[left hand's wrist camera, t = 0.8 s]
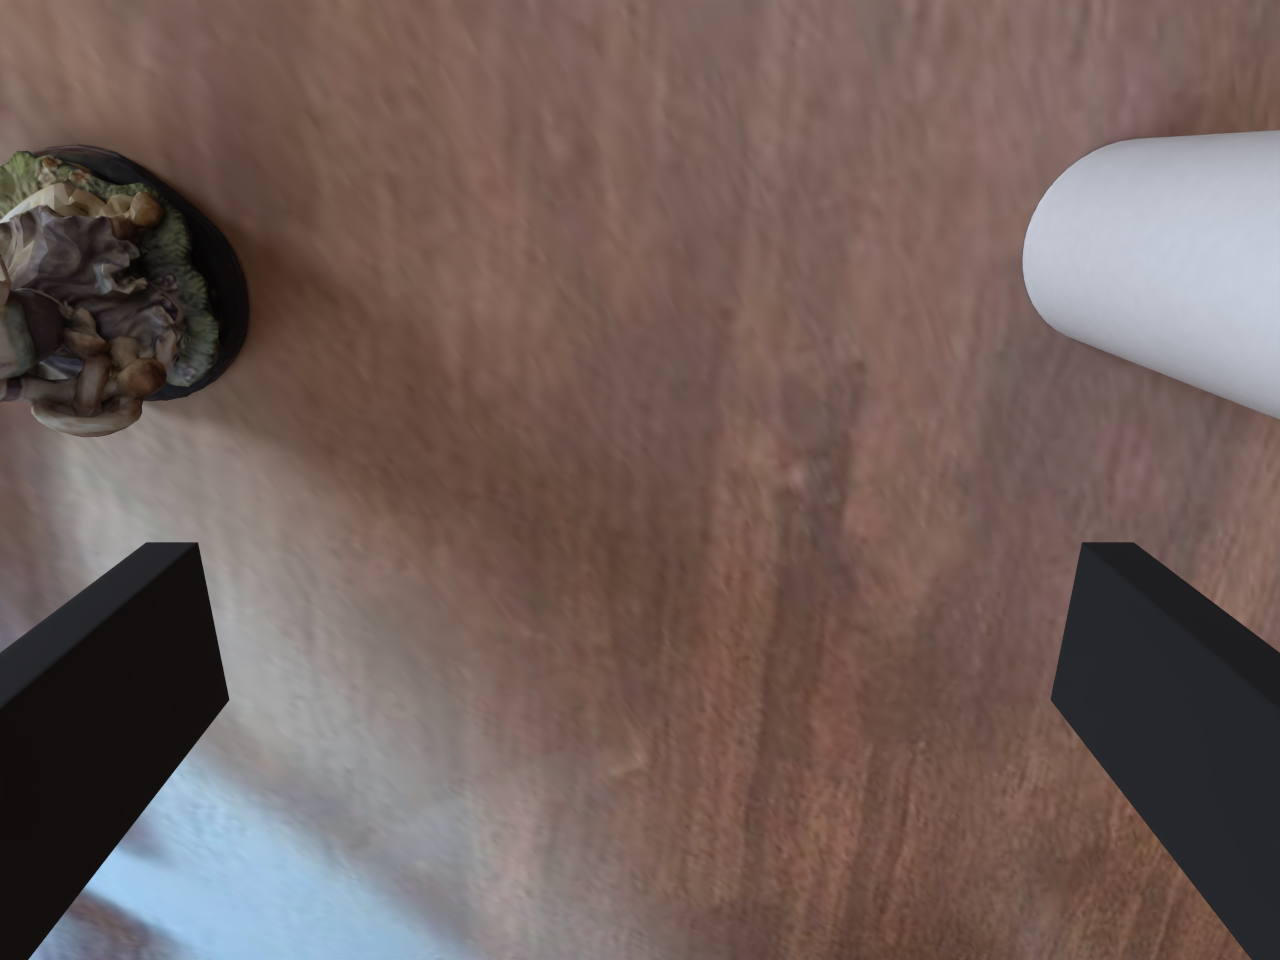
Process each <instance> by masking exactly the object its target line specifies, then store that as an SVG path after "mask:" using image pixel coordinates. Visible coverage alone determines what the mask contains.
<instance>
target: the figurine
mask: <svg viewBox="0 0 1280 960" xmlns="http://www.w3.org/2000/svg"><path fill="white" fill-rule="evenodd" d="M247 323H248V298H247V290H246V283H245V279H244V275H243V273H242V270H241V267H240V265H239V262H238V260H237V257H236V255H235V253H234V251H233V249H232V248H231V246H230V244H229V243H228V241H227V239H226V238H225V237H224V236H223V235H222V233H221V232H220V231H219V230H218V229H217V227H216V226H215V225H214V224H212V223H211V222H210V221H209V220H208V219H207V218H206V217H205V216H204V215H203V214H202V213H201V212H200V211H198V210H197V209H196V208H195V207H194V206H193V205H192V204H190V203H189V202H188V201H187V200H185V199H184V198H183V197H182V196H180V195H179V194H178V193H177V192H176V191H174V190H173V189H172V188H170V187H169V186H167V185H166V184H165V183H163V182H162V181H160V180H159V179H158V178H156V177H155V176H153V175H152V174H151V173H149V172H148V171H147V170H145V169H144V168H143V167H141V166H139V165H138V164H136V163H134V162H133V161H131V160H129V159H127V158H125V157H124V156H122V155H120V154H118V153H116V152H113V151H110V150H106V149H103V148H99V147H93V146H86V145H75V146H59V147H49V148H45V149H42V150H38V151H35V152H33V153H31V152H28V151H17V152H16V153H14V154H13V156H12V157H11V159H10V160H9V162H8V163H6V164H4V165H2V166H1V167H0V402H2V401H18V402H32V412H31V413H32V414H33V415H34V416H35V417H36V419H37V420H38V421H39V422H40V423H42V424H44V425H46V426H47V427H49V428H51V429H54V430H57V431H61V432H64V433H67V434H71V435H75V436H80V437H100V436H105V435H110V434H112V433H115V432H117V431H120V430H122V429H125V428H127V427H128V426H130V425H132V424H133V423H134V422H136V421H137V420H138V419H139V418H140V416H141V414H142V403H143V401H159V400H166V401H167V400H171V399H176V398H181V397H187V396H188V395H190V394H191V393H193V392H196V391H198V390H200V389H202V388H204V387H206V386H207V385H209V384H210V383H212V382H214V381H216V380H217V379H218V378H219V377H220V376H221V374H222V373H223V372H224V371H225V370H226V369H227V368H228V367H229V365H230V364H231V363H232V362H233V361H234V359H235V357H236V356H237V354H238V352H239V350H240V348H241V347H242V345H243V343H244V340H245V336H246V332H247Z"/></svg>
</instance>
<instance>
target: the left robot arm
mask: <svg viewBox="0 0 1280 960" xmlns="http://www.w3.org/2000/svg"><path fill="white" fill-rule="evenodd" d="M228 701H229V696H228V691H227V686H226V681H225V676H224V671H223V666H222V661H221V656H220V651H219V646H218V640H217V635H216V630H215V625H214V620H213V615H212V610H211V605H210V600H209V595H208V590H207V585H206V580H205V575H204V570H203V565H202V560H201V555H200V550H199V545H198V542H146V543H145V544H144V545H142V546H141V547H140V548H138V549H137V550H136V551H134V552H133V553H132V554H130V555H129V556H128V557H126V558H125V559H124V560H122V561H121V562H120V563H119V564H117V565H116V566H115V567H113V568H112V569H111V570H109V571H108V572H107V573H105V574H104V575H103V576H101V577H100V578H99V579H97V580H96V581H95V582H93V583H92V584H91V585H89V586H88V587H87V588H85V589H84V590H83V591H81V592H80V593H79V594H78V595H76V596H75V597H74V598H72V599H71V600H70V601H68V602H67V603H66V604H64V605H63V606H62V607H60V608H59V609H58V610H56V611H55V612H54V613H52V614H51V615H50V616H48V617H47V618H46V619H44V620H43V621H42V622H40V623H39V624H38V625H37V626H35V627H34V628H33V629H31V630H30V631H29V632H27V633H26V634H25V635H23V636H22V637H21V638H19V639H18V640H17V641H15V642H14V643H13V644H11V645H10V646H9V647H7V648H6V649H5V650H3V651H2V652H1V653H0V960H28V959H29V958H30V957H31V956H32V954H33V953H34V952H35V950H36V949H37V948H38V946H39V945H40V944H41V943H42V941H43V940H44V939H45V937H46V936H47V935H48V934H49V932H50V931H51V930H52V928H53V927H54V926H55V925H56V923H57V922H58V921H59V919H60V918H61V917H62V915H63V914H64V913H65V912H66V910H67V909H68V908H69V906H70V905H71V904H72V903H73V901H74V900H75V899H76V897H77V896H78V895H79V893H80V892H81V891H82V890H83V888H84V887H85V886H86V884H87V883H88V882H89V881H90V879H91V878H92V877H93V875H94V874H95V873H96V872H97V870H98V869H99V868H100V866H101V865H102V864H103V862H104V861H105V860H106V859H107V857H108V856H109V855H110V853H111V852H112V851H113V850H114V848H115V847H116V846H117V844H118V843H119V842H120V841H121V839H122V838H123V837H124V835H125V834H126V833H127V831H128V830H129V829H130V828H131V826H132V825H133V824H134V822H135V821H136V820H137V819H138V817H139V816H140V815H141V813H142V812H143V811H144V809H145V808H146V807H147V806H148V804H149V803H150V802H151V800H152V799H153V798H154V797H155V795H156V794H157V793H158V791H159V790H160V789H161V788H162V786H163V785H164V784H165V782H166V781H167V780H168V778H169V777H170V776H171V775H172V773H173V772H174V771H175V769H176V768H177V767H178V766H179V764H180V763H181V762H182V760H183V759H184V758H185V757H186V755H187V754H188V753H189V751H190V750H191V749H192V747H193V746H194V745H195V744H196V742H197V741H198V740H199V738H200V737H201V736H202V735H203V733H204V732H205V731H206V729H207V728H208V727H209V725H210V724H211V723H212V722H213V720H214V719H215V718H216V716H217V715H218V714H219V713H220V711H221V710H222V709H223V707H224V706H225V705H226V704H227V702H228ZM1051 701H1052V702H1053V704H1054V705H1055V706H1056V707H1057V709H1058V710H1059V711H1060V713H1061V714H1062V715H1063V716H1064V718H1065V719H1066V720H1067V722H1068V723H1069V724H1070V726H1071V727H1072V728H1073V729H1074V731H1075V732H1076V733H1077V735H1078V736H1079V737H1080V738H1081V740H1082V741H1083V742H1084V744H1085V745H1086V746H1087V747H1088V749H1089V750H1090V751H1091V753H1092V754H1093V755H1094V757H1095V758H1096V759H1097V760H1098V762H1099V763H1100V764H1101V766H1102V767H1103V768H1104V769H1105V771H1106V772H1107V773H1108V775H1109V776H1110V777H1111V778H1112V780H1113V781H1114V782H1115V784H1116V785H1117V786H1118V788H1119V789H1120V790H1121V791H1122V793H1123V794H1124V795H1125V797H1126V798H1127V799H1128V800H1129V802H1130V803H1131V804H1132V806H1133V807H1134V808H1135V809H1136V811H1137V812H1138V813H1139V815H1140V816H1141V817H1142V819H1143V820H1144V821H1145V822H1146V824H1147V825H1148V826H1149V828H1150V829H1151V830H1152V831H1153V833H1154V834H1155V835H1156V837H1157V838H1158V839H1159V841H1160V842H1161V843H1162V844H1163V846H1164V847H1165V848H1166V850H1167V851H1168V852H1169V853H1170V855H1171V856H1172V857H1173V859H1174V860H1175V861H1176V862H1177V864H1178V865H1179V866H1180V868H1181V869H1182V870H1183V872H1184V873H1185V874H1186V875H1187V877H1188V878H1189V879H1190V881H1191V882H1192V883H1193V884H1194V886H1195V887H1196V888H1197V890H1198V891H1199V892H1200V893H1201V895H1202V896H1203V897H1204V899H1205V900H1206V901H1207V903H1208V904H1209V905H1210V906H1211V908H1212V909H1213V910H1214V912H1215V913H1216V914H1217V915H1218V917H1219V918H1220V919H1221V921H1222V922H1223V923H1224V925H1225V926H1226V927H1227V928H1228V930H1229V931H1230V932H1231V934H1232V935H1233V936H1234V937H1235V939H1236V940H1237V941H1238V943H1239V944H1240V945H1241V946H1242V948H1243V949H1244V950H1245V952H1246V953H1247V954H1248V956H1249V957H1250V958H1251V959H1252V960H1280V653H1279V652H1278V651H1277V650H1275V649H1274V648H1273V647H1271V646H1270V645H1269V644H1267V643H1266V642H1265V641H1263V640H1262V639H1261V638H1259V637H1258V636H1257V635H1255V634H1254V633H1253V632H1251V631H1250V630H1249V629H1247V628H1246V627H1245V626H1243V625H1242V624H1241V623H1240V622H1238V621H1237V620H1236V619H1234V618H1233V617H1232V616H1230V615H1229V614H1228V613H1226V612H1225V611H1224V610H1222V609H1221V608H1220V607H1218V606H1217V605H1216V604H1214V603H1213V602H1212V601H1210V600H1209V599H1208V598H1206V597H1205V596H1204V595H1202V594H1201V593H1200V592H1199V591H1197V590H1196V589H1195V588H1193V587H1192V586H1191V585H1189V584H1188V583H1187V582H1185V581H1184V580H1183V579H1181V578H1180V577H1179V576H1177V575H1176V574H1175V573H1173V572H1172V571H1171V570H1169V569H1168V568H1167V567H1165V566H1164V565H1163V564H1161V563H1160V562H1159V561H1158V560H1156V559H1155V558H1154V557H1152V556H1151V555H1150V554H1148V553H1147V552H1146V551H1144V550H1143V549H1142V548H1140V547H1139V546H1138V545H1136V544H1135V543H1134V542H1082V545H1081V550H1080V555H1079V560H1078V565H1077V570H1076V575H1075V580H1074V585H1073V590H1072V595H1071V600H1070V605H1069V610H1068V615H1067V620H1066V625H1065V630H1064V635H1063V640H1062V645H1061V651H1060V656H1059V661H1058V666H1057V671H1056V676H1055V681H1054V686H1053V691H1052V696H1051Z"/></svg>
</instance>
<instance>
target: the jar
mask: <svg viewBox="0 0 1280 960" xmlns="http://www.w3.org/2000/svg"><path fill="white" fill-rule="evenodd" d="M1023 274H1024V281H1025V284H1026V288H1027V292H1028V294H1029V296H1030V299H1031V301H1032V303H1033V305H1034V306H1035V308H1036V310H1037V311H1038V313H1039V314H1040V315H1041V316H1042V318H1043V319H1044V320H1045V321H1046V322H1047V323H1048V324H1049V325H1051V326H1052V327H1053V328H1054V329H1055V330H1057V331H1059V332H1060V333H1062V334H1064V335H1065V336H1067V337H1070V338H1072V339H1075V340H1077V341H1080V342H1082V343H1085V344H1087V345H1090V346H1093V347H1095V348H1098V349H1100V350H1103V351H1105V352H1108V353H1110V354H1113V355H1116V356H1118V357H1121V358H1123V359H1126V360H1128V361H1131V362H1133V363H1136V364H1138V365H1141V366H1144V367H1146V368H1149V369H1151V370H1154V371H1156V372H1159V373H1161V374H1164V375H1167V376H1169V377H1172V378H1174V379H1177V380H1179V381H1182V382H1184V383H1187V384H1190V385H1192V386H1195V387H1197V388H1200V389H1202V390H1205V391H1207V392H1210V393H1212V394H1215V395H1218V396H1220V397H1223V398H1225V399H1228V400H1230V401H1233V402H1235V403H1238V404H1241V405H1243V406H1246V407H1248V408H1251V409H1253V410H1256V411H1258V412H1261V413H1264V414H1266V415H1269V416H1271V417H1274V418H1276V419H1279V420H1280V130H1274V131H1257V132H1241V133H1225V134H1208V135H1192V136H1176V137H1159V138H1143V139H1131V140H1125V141H1120V142H1116V143H1113V144H1110V145H1107V146H1104V147H1102V148H1100V149H1098V150H1095V151H1093V152H1091V153H1090V154H1088V155H1086V156H1085V157H1083V158H1081V159H1080V160H1078V161H1077V162H1076V163H1074V164H1073V165H1072V166H1071V167H1069V168H1068V169H1067V170H1066V171H1065V172H1064V173H1063V174H1062V175H1061V176H1060V177H1059V178H1057V180H1056V181H1055V182H1054V183H1053V184H1052V186H1051V187H1050V188H1049V189H1048V190H1047V192H1046V193H1045V195H1044V196H1043V198H1042V199H1041V201H1040V202H1039V204H1038V206H1037V208H1036V210H1035V212H1034V214H1033V216H1032V219H1031V221H1030V224H1029V227H1028V230H1027V234H1026V238H1025V242H1024V249H1023Z"/></svg>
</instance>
